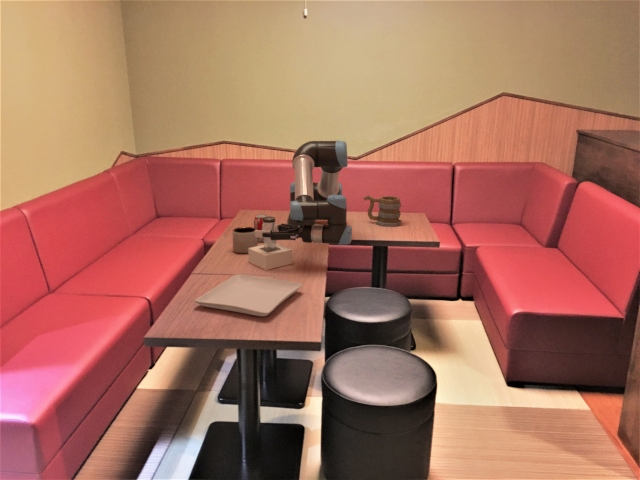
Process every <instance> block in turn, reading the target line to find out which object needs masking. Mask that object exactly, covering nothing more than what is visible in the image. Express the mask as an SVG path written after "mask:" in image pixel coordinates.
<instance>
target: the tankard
mask: <svg viewBox="0 0 640 480" xmlns="http://www.w3.org/2000/svg"><path fill="white" fill-rule="evenodd" d="M363 199H364V201H365V202H366V201H367V200H368V201H370V202H369V203H370V204H369V207H368V209H367V216H368V218H369V220H372V221H376V225H378V226H381V227H387V228H388V227H389V228H394V227H400V226H401V225H402V220H401V219H400V217H401V215H402V214H401V210H400V209H401V207H402V205H401V204H402V203H401V201H400V199H401V198H400V197H398V196H394V195H393V196H390V195H389V196H388V195H387V196H381V197H379V198H374V197H372V196H370V195H366V196H364V197H363ZM375 203H378V204H377V205H378V208H379V210H378V215H376V216H374V215H373V213H372V211H373V209H374V207H375Z"/></svg>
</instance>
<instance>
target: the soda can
mask: <svg viewBox="0 0 640 480" xmlns="http://www.w3.org/2000/svg"><path fill="white" fill-rule="evenodd" d="M263 217H268V215H267V214H256V215H255V216H254V219H253V228H256V229H257V230H260V231H262V225H263ZM257 243H264V238H259V237H257Z"/></svg>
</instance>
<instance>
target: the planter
mask: <svg viewBox="0 0 640 480" xmlns="http://www.w3.org/2000/svg"><path fill="white" fill-rule="evenodd" d="M255 230H257V229H256V228H254V226H253V227H252V226H240V227H235V228H233V229H232V250H233V252H234V253H237V254H241V255H242V254H243V255H247V254H248V248H251V247H256V246H259V245H258V243H259V242H257V237H255Z"/></svg>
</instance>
